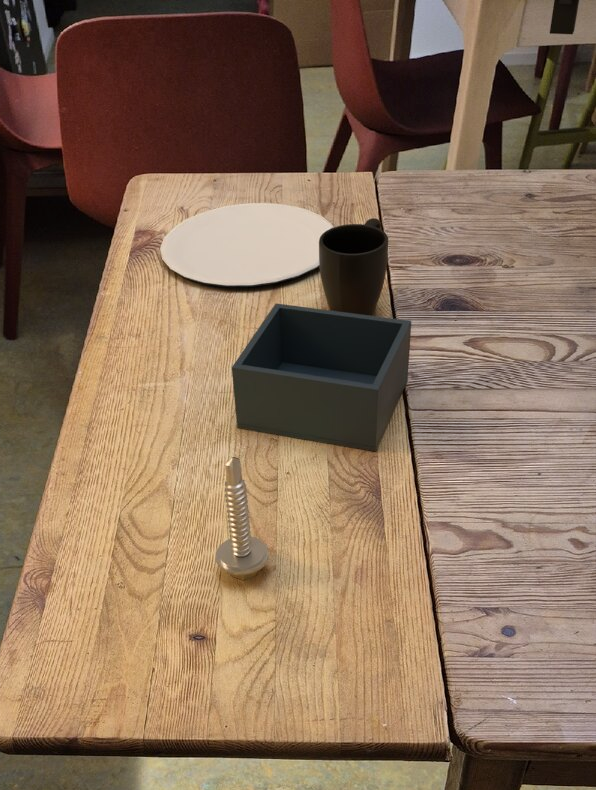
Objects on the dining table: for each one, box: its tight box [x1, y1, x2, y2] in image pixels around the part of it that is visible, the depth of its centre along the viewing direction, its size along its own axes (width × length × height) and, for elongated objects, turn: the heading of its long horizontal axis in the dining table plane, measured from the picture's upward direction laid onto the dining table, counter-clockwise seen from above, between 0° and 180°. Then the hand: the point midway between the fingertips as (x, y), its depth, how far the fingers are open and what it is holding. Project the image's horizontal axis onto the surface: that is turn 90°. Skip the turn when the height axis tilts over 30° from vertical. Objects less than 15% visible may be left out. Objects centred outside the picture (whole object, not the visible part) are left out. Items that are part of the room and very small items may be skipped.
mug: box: [318, 217, 389, 316], centre depth 114 cm, size 8×12×10 cm
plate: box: [159, 202, 335, 288], centre depth 130 cm, size 25×25×1 cm
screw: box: [215, 456, 270, 581], centre depth 81 cm, size 13×5×5 cm
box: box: [231, 303, 412, 452], centre depth 100 cm, size 14×16×8 cm
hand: (561, 31), depth 112 cm, fingers closed
